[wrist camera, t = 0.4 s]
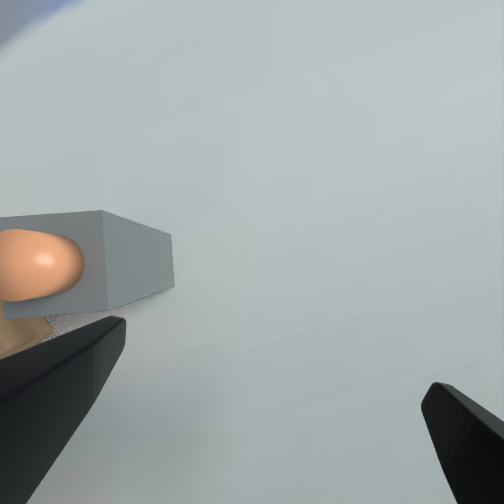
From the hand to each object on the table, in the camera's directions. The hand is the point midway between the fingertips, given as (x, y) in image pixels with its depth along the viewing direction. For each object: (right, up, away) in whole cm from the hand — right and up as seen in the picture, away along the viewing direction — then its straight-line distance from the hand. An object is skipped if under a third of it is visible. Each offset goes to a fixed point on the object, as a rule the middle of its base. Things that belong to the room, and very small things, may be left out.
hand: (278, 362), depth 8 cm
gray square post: (-10, +2, +15) cm, 18 cm away
